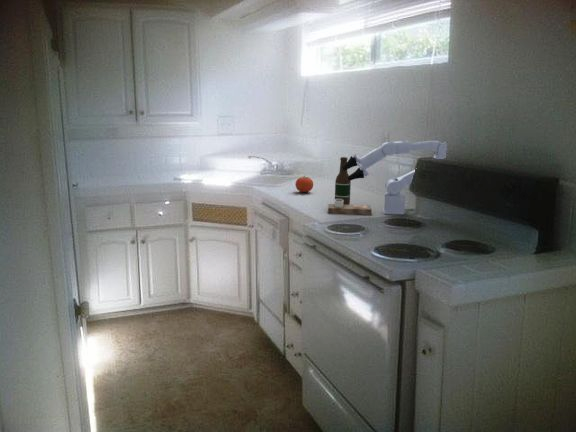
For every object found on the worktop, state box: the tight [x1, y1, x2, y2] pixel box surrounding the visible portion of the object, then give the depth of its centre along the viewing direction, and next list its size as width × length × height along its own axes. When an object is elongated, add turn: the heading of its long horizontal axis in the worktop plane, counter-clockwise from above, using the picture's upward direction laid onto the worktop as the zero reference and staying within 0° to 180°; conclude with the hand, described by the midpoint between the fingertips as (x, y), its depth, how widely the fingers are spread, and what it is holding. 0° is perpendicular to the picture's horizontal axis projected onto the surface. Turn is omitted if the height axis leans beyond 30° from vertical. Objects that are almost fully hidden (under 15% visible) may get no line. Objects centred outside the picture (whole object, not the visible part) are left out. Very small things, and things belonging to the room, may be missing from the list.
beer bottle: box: [334, 156, 352, 205], centre depth 263 cm, size 8×8×24 cm
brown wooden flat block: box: [327, 203, 373, 216], centre depth 248 cm, size 20×10×3 cm, turn 85°
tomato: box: [295, 175, 314, 193], centre depth 298 cm, size 10×10×10 cm
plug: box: [334, 198, 344, 207], centre depth 248 cm, size 4×4×6 cm
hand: (345, 174), depth 245 cm, fingers open, 7 cm apart
